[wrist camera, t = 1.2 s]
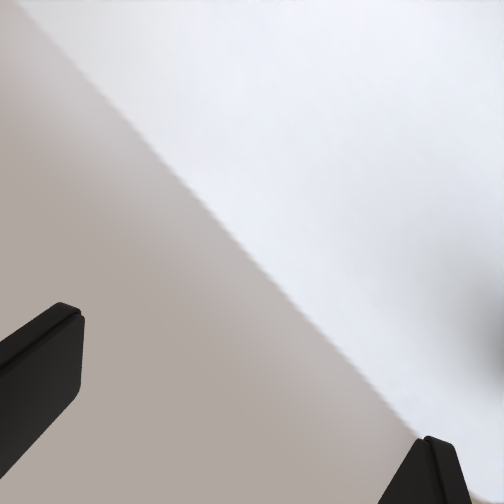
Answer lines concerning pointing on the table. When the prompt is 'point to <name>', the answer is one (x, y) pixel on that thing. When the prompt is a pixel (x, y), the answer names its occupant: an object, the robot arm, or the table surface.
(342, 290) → the table surface
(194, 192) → the table surface
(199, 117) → the table surface
